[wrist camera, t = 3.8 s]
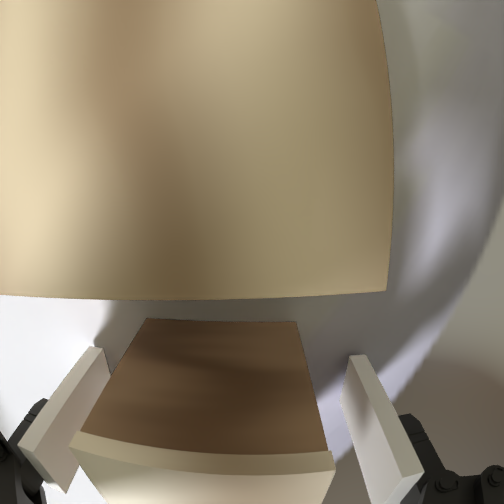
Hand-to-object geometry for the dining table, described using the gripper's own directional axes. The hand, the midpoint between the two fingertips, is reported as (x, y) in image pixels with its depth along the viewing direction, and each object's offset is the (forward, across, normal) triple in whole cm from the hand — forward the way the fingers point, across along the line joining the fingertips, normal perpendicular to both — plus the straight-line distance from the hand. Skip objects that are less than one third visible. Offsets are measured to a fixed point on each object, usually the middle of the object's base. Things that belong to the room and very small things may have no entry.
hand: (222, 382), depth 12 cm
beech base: (+1, -2, +12) cm, 12 cm away
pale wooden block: (0, 0, 0) cm, 0 cm away
